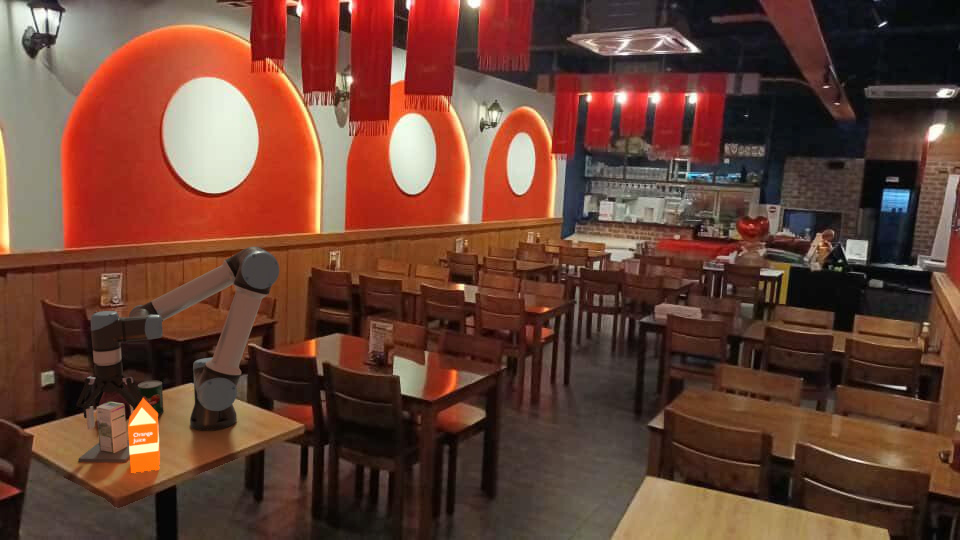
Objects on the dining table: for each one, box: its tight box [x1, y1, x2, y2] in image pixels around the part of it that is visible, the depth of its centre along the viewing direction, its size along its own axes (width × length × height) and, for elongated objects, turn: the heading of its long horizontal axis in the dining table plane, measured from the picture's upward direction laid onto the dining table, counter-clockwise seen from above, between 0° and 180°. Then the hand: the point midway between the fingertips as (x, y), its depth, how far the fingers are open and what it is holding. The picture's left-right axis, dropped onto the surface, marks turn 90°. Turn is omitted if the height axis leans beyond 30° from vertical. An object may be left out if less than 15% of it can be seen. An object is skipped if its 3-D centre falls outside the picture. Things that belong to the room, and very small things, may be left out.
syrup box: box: [96, 402, 128, 453], centre depth 212 cm, size 6×6×14 cm
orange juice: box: [127, 398, 161, 474], centre depth 203 cm, size 8×9×20 cm
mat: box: [78, 439, 130, 463], centre depth 213 cm, size 14×14×1 cm
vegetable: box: [98, 391, 132, 419], centre depth 239 cm, size 10×10×15 cm
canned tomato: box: [137, 380, 165, 416], centre depth 245 cm, size 8×8×11 cm
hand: (113, 427), depth 212 cm, fingers open, 13 cm apart
